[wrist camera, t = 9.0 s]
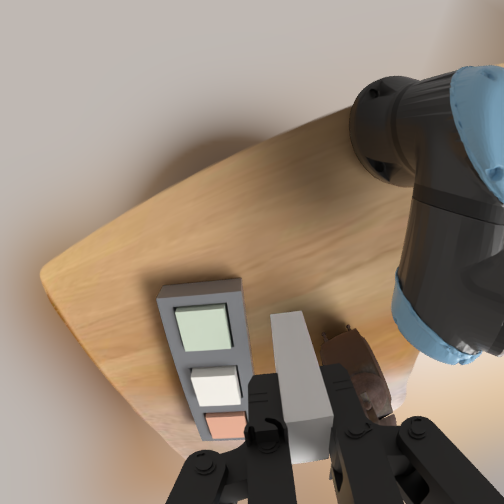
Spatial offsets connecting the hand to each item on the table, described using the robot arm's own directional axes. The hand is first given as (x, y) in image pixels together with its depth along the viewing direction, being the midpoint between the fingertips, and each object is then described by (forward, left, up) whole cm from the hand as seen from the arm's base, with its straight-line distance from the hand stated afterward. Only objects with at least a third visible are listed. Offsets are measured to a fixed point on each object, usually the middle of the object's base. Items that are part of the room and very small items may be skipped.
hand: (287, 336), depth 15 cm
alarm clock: (-11, +23, -27) cm, 37 cm away
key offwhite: (+9, +24, -24) cm, 35 cm away
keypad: (+9, +24, -26) cm, 37 cm away
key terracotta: (+9, +34, -25) cm, 43 cm away
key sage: (+9, +13, -25) cm, 29 cm away
